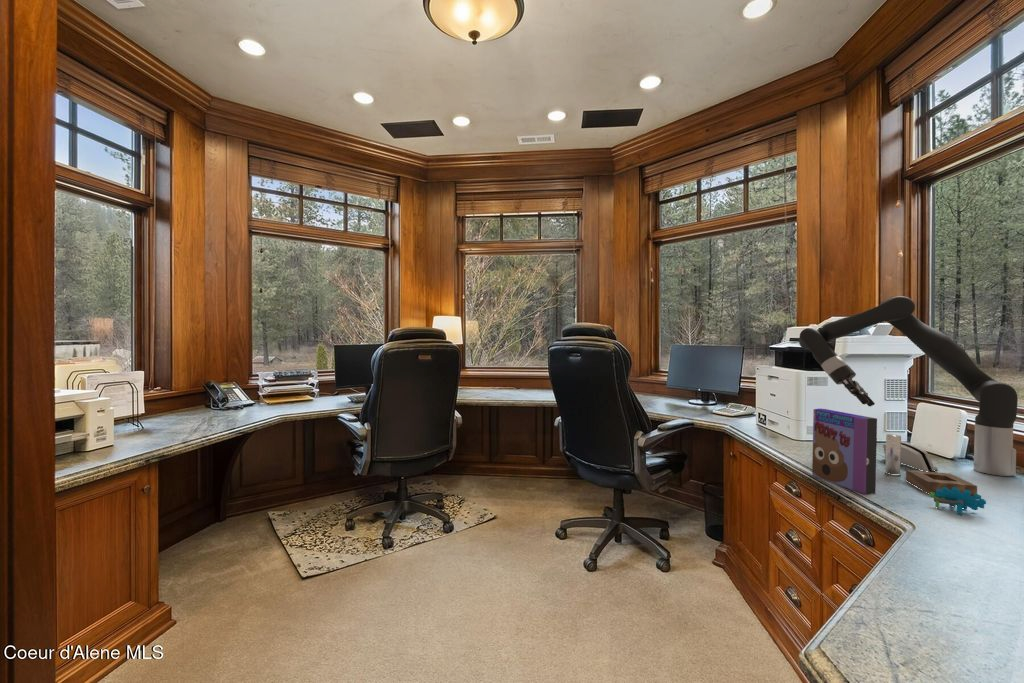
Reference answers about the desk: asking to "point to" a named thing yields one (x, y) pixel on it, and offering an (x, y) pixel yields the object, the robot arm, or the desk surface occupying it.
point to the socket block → (938, 481)
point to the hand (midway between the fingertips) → (869, 404)
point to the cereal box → (845, 449)
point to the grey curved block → (915, 457)
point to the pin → (893, 454)
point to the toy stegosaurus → (957, 499)
